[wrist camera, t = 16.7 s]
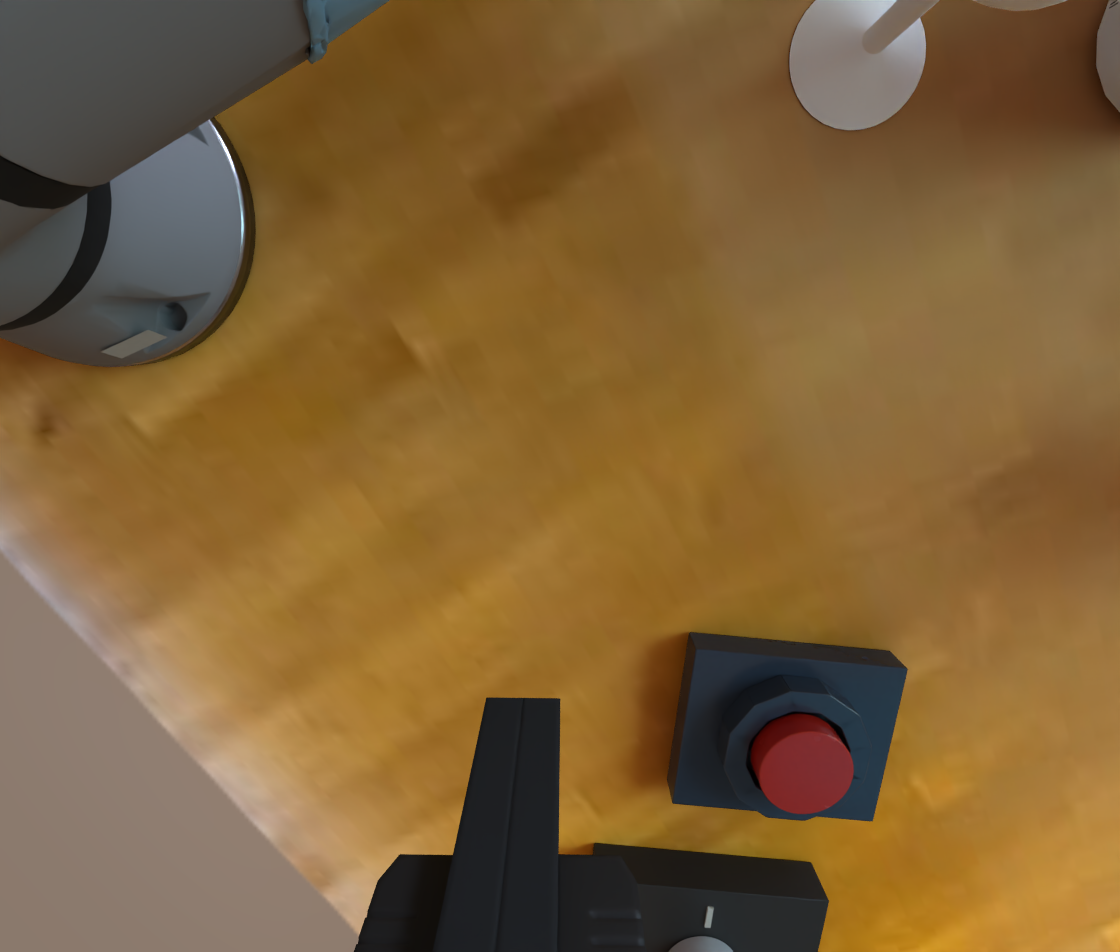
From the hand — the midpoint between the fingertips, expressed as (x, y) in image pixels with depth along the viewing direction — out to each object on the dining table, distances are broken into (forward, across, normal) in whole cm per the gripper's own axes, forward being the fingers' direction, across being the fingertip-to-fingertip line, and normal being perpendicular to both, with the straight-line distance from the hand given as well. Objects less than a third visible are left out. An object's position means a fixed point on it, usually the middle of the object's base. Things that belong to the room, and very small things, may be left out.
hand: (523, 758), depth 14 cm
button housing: (+24, +14, -14) cm, 31 cm away
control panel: (+24, +10, -29) cm, 39 cm away
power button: (+21, +14, -14) cm, 29 cm away
